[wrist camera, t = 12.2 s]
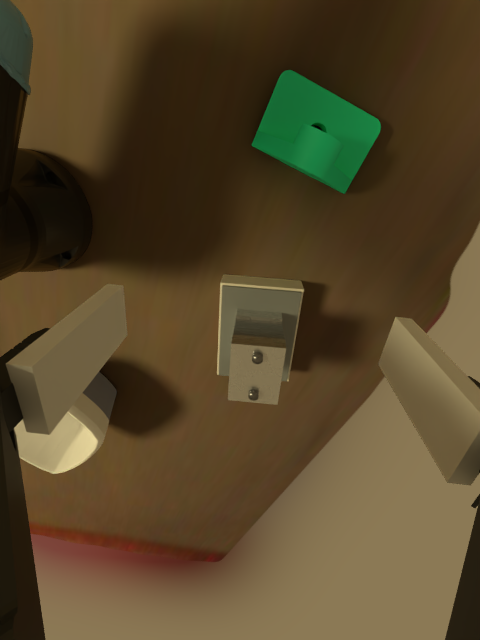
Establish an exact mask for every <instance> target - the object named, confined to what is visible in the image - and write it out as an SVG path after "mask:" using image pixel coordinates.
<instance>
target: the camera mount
mask: <svg viewBox="0 0 480 640" xmlns="http://www.w3.org/2000/svg"><path fill="white" fill-rule="evenodd" d="M312 125H316V126H319V127H320V128H321V130H322V131H321V130H319V129H317V128H315V127H312ZM380 130H381V124H380V121H379V120H378V119H377V118H375V117H373V116H372V115H370V114H368V113H366V112H365V111H363V110H361V109H359V108H358V107H356V106H354V105H352V104H351V103H349V102H347V101H345V100H344V99H342V98H340V97H338V96H337V95H335V94H333V93H331V92H329V91H328V90H326V89H324V88H322V87H321V86H319V85H317V84H315V83H314V82H312V81H310V80H308V79H307V78H305V77H303V76H301V75H300V74H298V73H296V72H294V71H292V70H286V71H284V72H283V73H282V74H281V75H280V77H279V79H278V82H277V84H276V86H275V89H274V91H273V94H272V96H271V99H270V101H269V104H268V106H267V109H266V111H265V113H264V116H263V118H262V121H261V123H260V126H259V128H258V131H257V133H256V135H255V138H254V140H253V143H252V146H253V147H255V148H256V149H258V150H260V151H262V152H264V153H266V154H268V155H270V156H272V157H274V158H276V159H278V160H279V161H281V162H283V163H285V164H287V165H289V166H290V167H292V168H294V169H296V170H298V171H300V172H302V173H304V174H306V175H308V176H310V177H312V178H314V179H316V180H318V181H320V182H322V183H324V184H326V185H327V186H329V187H331V188H333V189H335V190H337V191H339V192H341V193H343V194H345V192H346V191H347V189H348V187H349V185H350V184H351V182H352V180H353V178H354V177H355V175H356V173H357V171H358V170H359V168H360V166H361V164H362V163H363V161H364V159H365V157H366V156H367V154H368V152H369V150H370V149H371V147H372V145H373V143H374V142H375V140H376V138H377V136H378V135H379V133H380Z"/></svg>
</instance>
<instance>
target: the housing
mask: <svg viewBox="0 0 480 640" xmlns="http://www.w3.org/2000/svg"><path fill="white" fill-rule="evenodd" d="M285 353H286V343H285V339H284V334H283V326H282V313H278V312H267V311H255V310H243V309H237V313H236V321H235V326H234V332H233V336H232V342H231V356H230V373H229V390H228V400H233V401H244V402H255V403H265V404H276V405H277V404H278V398H279V391H280V385H281V379H282V372H283V366H284V360H285Z"/></svg>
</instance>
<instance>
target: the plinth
mask: <svg viewBox="0 0 480 640" xmlns="http://www.w3.org/2000/svg"><path fill="white" fill-rule="evenodd" d="M303 293H304V288H303V285H302V282H301V280H288V279H276V278H264V277H252V276H240V275H228V274H223V277H222V280H221V283H220V309H219V336H218V363H217V375H223V376H229V373H230V356H231V342H232V336H233V332H234V326H235V321H236V313H237V309H243V310H255V311H267V312H278V313H282V326H283V334H284V339H285V343H286V353H285V360H284V366H283V372H282V379H281V381H289V375H290V369H291V363H292V357H293V351H294V346H295V340H296V334H297V328H298V322H299V316H300V310H301V304H302V299H303Z"/></svg>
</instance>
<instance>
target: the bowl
mask: <svg viewBox="0 0 480 640" xmlns="http://www.w3.org/2000/svg"><path fill="white" fill-rule="evenodd" d="M116 394H117V391H116V389H115V387H114V386H113V385H112V384H111V383H110V382H109V380H108V379H107V378H106V377H105V376H103V375H102V374H101V373H100V372H98V373H97V375H96V376H95V377H94V379H93V380H92V381H91V382H90V384H89V385H88V386H87V387H86V389H85V390H84V391H83V393H82V394H81V395H80V396H79V398H78V399H77V400H76V402H75V403H74V404H73V405H72V407H71V408H70V409H69V411H68V412H67V413H66V414H65V416H64V417H63V418H62V420H61V421H60V422H59V423H58V425H57V426H56V427H55V429H54V430H53V431H52V432H51V434H50V435H46V434H37V433H29V432H26V429H25V425H24V422H23V419H22V420H21V421H20V422H19V423H18V424H17V426H16V427H15V428H14V430H15V433H16V437H17V444H18V451H19V457H20V458H21V459H23V460H25V461H27V462H28V463H30V464H32V465H34V466H36V467H38V468H40V469H42V470H45V471H48V472H50V473H53V474H57V473H61V472H66V471H68V470H70V469H72V468H74V467H76V466H78V465H80V464H82V463H83V462H85V461H86V460H88V459H89V458H90V457H91V456H92V455H93V454H94V453H95V452H96V451H97V450H98V449H99V448H100V447H101V445H102V443H103V441H104V438H105V435H106V431H107V427H108V424H109V419H110V416H111V412H112V408H113V405H114V401H115V398H116Z"/></svg>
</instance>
